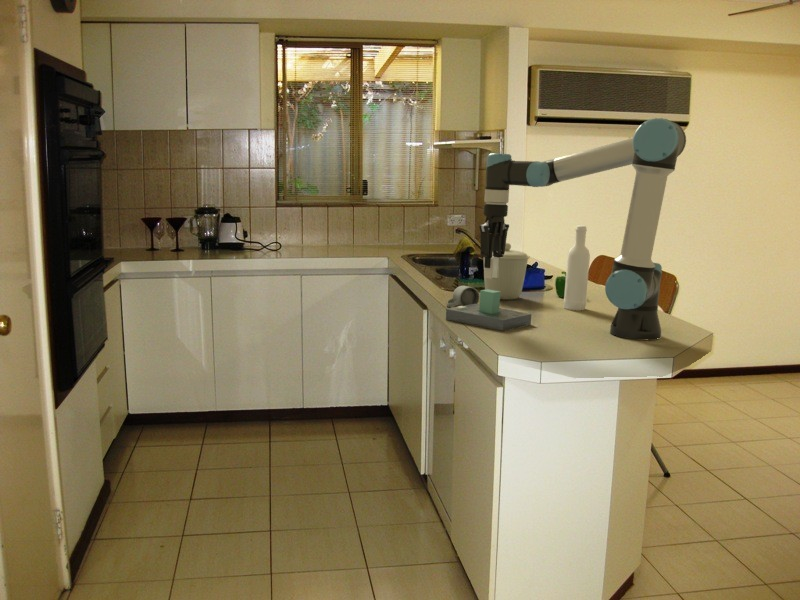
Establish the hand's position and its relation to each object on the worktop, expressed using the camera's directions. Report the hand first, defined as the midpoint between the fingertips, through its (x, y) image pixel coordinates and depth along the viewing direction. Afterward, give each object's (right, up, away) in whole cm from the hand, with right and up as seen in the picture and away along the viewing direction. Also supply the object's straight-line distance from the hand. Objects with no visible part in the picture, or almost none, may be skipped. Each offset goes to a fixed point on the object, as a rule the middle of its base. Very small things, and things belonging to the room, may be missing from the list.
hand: (491, 277), depth 250 cm
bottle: (+34, -11, +34) cm, 50 cm away
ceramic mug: (-7, -10, +27) cm, 30 cm away
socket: (-1, -14, +3) cm, 15 cm away
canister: (+10, -7, +51) cm, 52 cm away
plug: (-1, -13, +2) cm, 14 cm away
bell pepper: (+36, -6, +59) cm, 69 cm away
